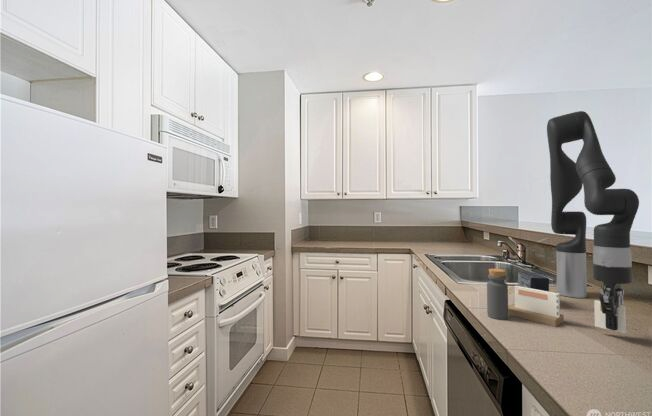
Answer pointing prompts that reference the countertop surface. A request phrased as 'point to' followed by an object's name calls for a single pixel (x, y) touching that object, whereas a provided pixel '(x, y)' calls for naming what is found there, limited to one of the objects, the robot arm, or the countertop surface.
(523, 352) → the countertop surface
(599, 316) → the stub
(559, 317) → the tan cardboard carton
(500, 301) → the bottle
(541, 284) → the small box
